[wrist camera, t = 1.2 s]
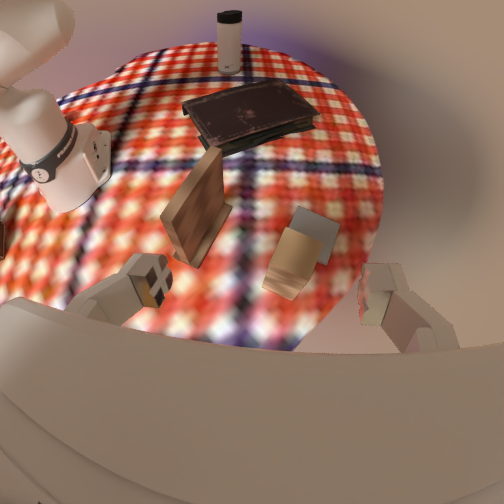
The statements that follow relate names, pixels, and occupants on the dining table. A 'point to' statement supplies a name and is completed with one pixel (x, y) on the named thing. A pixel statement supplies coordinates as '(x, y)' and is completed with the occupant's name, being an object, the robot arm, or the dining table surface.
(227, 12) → the travel mug
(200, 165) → the screen
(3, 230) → the brown cake slice
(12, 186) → the dining table surface
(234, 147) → the diary
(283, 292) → the tan boxy piece
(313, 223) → the slate coaster
